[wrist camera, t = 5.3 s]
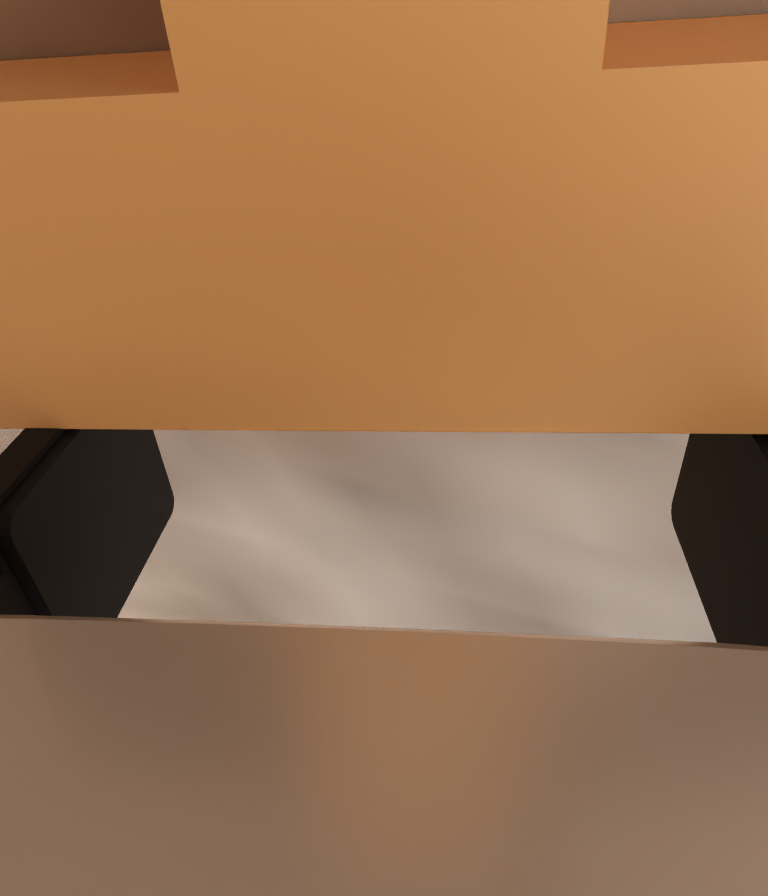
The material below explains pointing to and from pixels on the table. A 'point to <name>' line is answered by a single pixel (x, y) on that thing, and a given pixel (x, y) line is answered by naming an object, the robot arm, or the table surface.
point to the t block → (390, 222)
